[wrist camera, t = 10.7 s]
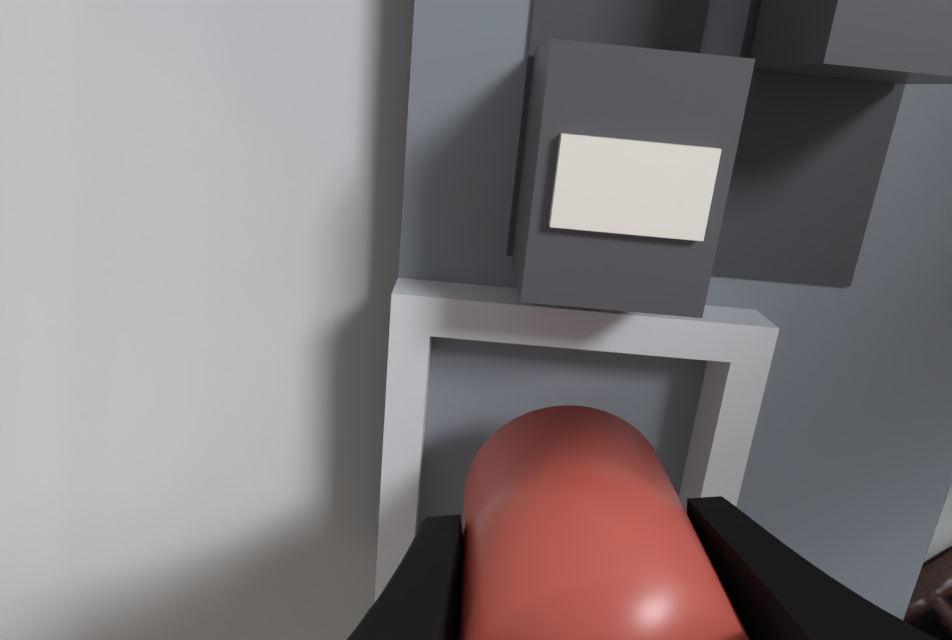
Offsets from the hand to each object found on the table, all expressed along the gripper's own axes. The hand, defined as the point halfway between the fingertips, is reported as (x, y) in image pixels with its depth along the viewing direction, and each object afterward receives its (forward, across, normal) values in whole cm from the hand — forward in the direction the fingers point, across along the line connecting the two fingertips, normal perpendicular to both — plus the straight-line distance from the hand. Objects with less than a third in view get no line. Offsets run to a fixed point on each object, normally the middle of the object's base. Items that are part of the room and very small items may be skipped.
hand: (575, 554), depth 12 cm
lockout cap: (+2, 0, 0) cm, 2 cm away
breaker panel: (+5, -4, -4) cm, 7 cm away
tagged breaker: (+3, -1, -6) cm, 7 cm away
